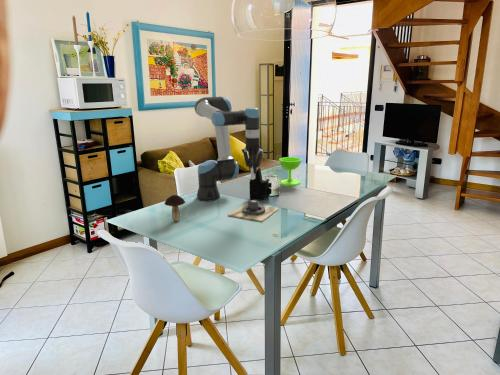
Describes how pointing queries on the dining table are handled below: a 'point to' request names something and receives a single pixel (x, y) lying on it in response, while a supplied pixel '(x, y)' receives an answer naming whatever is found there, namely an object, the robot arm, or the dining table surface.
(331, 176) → the dining table surface
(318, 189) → the dining table surface
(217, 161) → the robot arm
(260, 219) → the mount
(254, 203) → the cap
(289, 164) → the wineglass
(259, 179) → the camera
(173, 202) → the decorative mushroom
